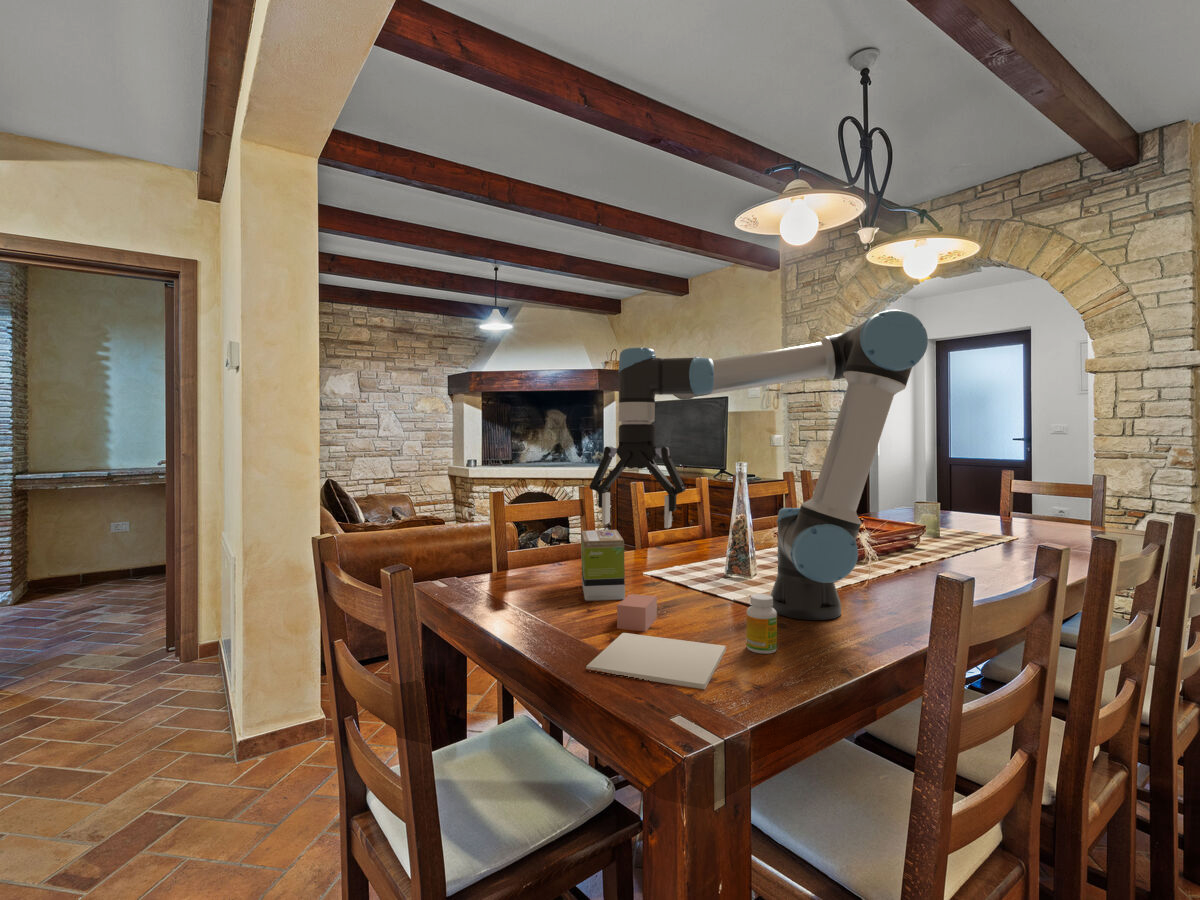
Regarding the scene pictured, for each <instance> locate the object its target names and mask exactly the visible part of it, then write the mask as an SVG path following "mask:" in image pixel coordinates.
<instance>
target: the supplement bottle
mask: <svg viewBox="0 0 1200 900" xmlns="http://www.w3.org/2000/svg"><path fill="white" fill-rule="evenodd" d="M770 595H771V594H770ZM770 595H769V594H764V593H754V594H751V595H750V604H751V606H748V608H747V609H746V648H747V649H748V651H751V652H752V653H756V654H763V655H764V654H765V655H766V654H767V655H768V654H769V655H770V654H773V653H776V651H777V649H778V614H777V612H776V610H775V609H774V608H772V606H773V597H772V596H770Z"/></svg>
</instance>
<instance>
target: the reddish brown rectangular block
mask: <svg viewBox="0 0 1200 900" xmlns="http://www.w3.org/2000/svg"><path fill="white" fill-rule="evenodd" d="M657 605H658V598H657V595H648V594H635V593H629V594H628V595H627V596H625V599H621V601H619V603H618V604H617V605H616V629H619V630H627V631H628V630H629V631H637V632H647V630H648V629H649V628H650V627H652V625H653V624H654V623H655V621H656V620H657V619H658V615H657V613H658V611H657V610H658V609H657Z"/></svg>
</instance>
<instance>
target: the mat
mask: <svg viewBox="0 0 1200 900" xmlns="http://www.w3.org/2000/svg"><path fill="white" fill-rule="evenodd" d="M726 651H727V646H726V645H723V644H722V645H721V644H713V643H708V642H707V643H706V642H698V641H692V640H691V641H689V640H684V639H683V640H682V639H675V638H667V637H666V638H665V637H661V636H659V637H658V636H651V635H645V634H635V633H629V632H622V633H621V634H619V636H618V637H616V638H615V639H614V640H613V641H611V643H610V644H609V645H608V646H607V647H605V648H604V649H603V650H602V651H601V652H600V653H599V654H597V656H596V657H595V658H593V660H591V661H590V662H589V663H588V664H587V665H586V669H591V670H597V671H602V672H607V673H612V674H616V675H624V676H628V677H627V678H629V677H634V678H633V679H635V678H639V679H638V680H642V679H644V680H643V681H648V680H649V681H650V682H655V683H660V684H662V683H663V684H669V685H674V686H680V687H687V688H694V689H700V690H706V688H707V687H708V685H709V682H710V681H711V679H712V677H713V675H714V673H715V671H716V670H717V667H718V666H719V664H720V662H721V660H722V658H723V657H724V654H725V653H726ZM616 675H615V676H616Z"/></svg>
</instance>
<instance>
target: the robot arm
mask: <svg viewBox="0 0 1200 900" xmlns="http://www.w3.org/2000/svg"><path fill="white" fill-rule="evenodd" d="M928 343H929V338H928V332H927V329H926V327H924V324H923V323H922V322H921V320H920V319H919V318H918V317H917V316H915V315H914V314H912V313H910V312H908V311H904V310H903V309H902V310H900V309H889V310H884V311H880V312H877V313H875V314H873V315H871V316H869V317H868V318H867V319H866V321H863V322H862V323H860V324H859V325H856V326H855V327H853V328H851V329H849V330H846V331H843V332H840V333H838V334H833V335H828V336H824V337H823V338H822V339H821V340H820V341H818V342H815V343H809V344H803V345H798V346H797V345H796V346H791V347H785V348H779V349H772V350H768V351H761V352H755V353H750V354H742V355H736V356H730V357H724V358H718V359H712V358H710V357H699V356H694V357H673V358H672V357H671V358H663V357H661V358H660V357H657V355H656V352H655V349H653V348H649V347H629V348H625V349H624V348H623V349H622V350H621V351H620V353H619V357H618V358H619V359H618V371H617V372H618V374H617V375H618V422H619V423H621V424H619V426H618V447H613V446H605V447H604V448H603V454H602V456H603V457H602V459H601V460H600V463H599V465H598V467H597V470H596V472H595V474H594V475H593V478H592V480H591V482H590V485H589V490H593V491H595V492H596V493H597V495H598V496H597V497H598V499H597V502H598V504H597V505H598V508H600V509H601V516H602V517H601V524H602V525H608V524H610V523H611V492H610V491H609V492H608V489H609V488H610V487H611V486H612V485H613V483H614V482H615V481H616V480H617V478H619V476H620V475H621V474H622V472H623V471H624V470H625V469H626V468H628V469H635V468H636V469H639V470H641V469H642V470H643V469H645V468H646V469H647V471H649V473H651V475H652V476H653V477H654V478H655V479H656V480H657V482H658V483H659V484H660V486H661V487H662V488H663V489H664V490H665V492H666V493H667V494H666V495H664V521H663V522H664V529H669V528H671V527H672V520H673V519H672V516H673V515H672V514H673V513H672V512H675V511H676V510H677V496H678V495H679V494H681V493H684V492H685V491H686V486H685V484H684V482H683V480H682V478H681V476H680V474H679V472H678V470H677V468H676V465H675V464H674V462H673V459H672V456H671V449H670V447H669V446H663V447H658V448H657V447H656V444H655V443H656V442H655V441H656V429H655V428H656V427H655V425H654V424H653V423H654V422H655V420H656V419H655V417H656V415H655V414H656V413H655V411H656V401H655V400H656V399H655V397H656V395H659V396H664V395H665V396H667V395H668V396H670V395H672V396H674V397H676V398H677V399H679V400H692V399H693V398H695V397H696V398H697V397H704V396H708V395H715V394H720V393H728V392H733V391H740V390H747V389H752V388H760V387H766V386H772V385H779V384H784V383H785V384H786V383H792V382H797V381H798V382H799V381H804V380H811V379H817V378H825V379H827V380H829V381H834V380H840V379H845V381H846V382H847V386H846V390H845V394H844V396H843V399H842V403H841V405H840V409H839V411H838V414H837V418H836V422H835V425H834V428H833V430H832V434H831V437H830V441H829V443H828V446H827V450H826V452H825V453H826V454H825V455H824V459H823V462H822V466H821V468H820V471H819V475H818V478H817V481H816V485H815V487H814V489H813V493H812V497H811V498H810V499H807V500H806V501H804V502H803V503H801V504H800V507H784V508H783V507H782V508H780V509H779V510H778V514H777V520H776V523H777V575H776V578H775V581H774V584H773V587H772V590H771V593H770V596H772V597H773V606H772V608H774V609H775V610H776V612H777V615H780V616H783V617H787V618H792V619H797V620H806V621H807V620H808V621H825V620H827V621H828V620H833V619H837V618H839V617H840V616H841V615H842V603H841V600H840V597H839V593H838V590H837V586H836V585H835V583H836V582H838V581H841V580H843V579H844V578H846V577H847V576H849V575H850V574H851V572H853V570H854V569H855V567H856V565H857V562H858V560H859V559H858V558H859V550H858V548H859V547H858V545H857V537H858V534H859V531H860V527H861V525H862V521H861V520H860V518H859V516H858V513H857V510H858V508H859V504H860V501H861V499H862V494H863V492H864V488H865V486H866V483H867V479H868V476H869V474H870V473H869V472H870V469H871V467H872V464H873V460H874V458H875V455H876V452H877V449H878V446H879V443H880V439H881V436H882V434H883V432H884V431H883V430H884V427H885V424H886V422H887V421H886V420H887V418H888V416H889V412H890V409H891V405H892V403H893V400H894V397H895V395H896V394H899V392H902V391H904V390H905V389H906V387H907V386H908V385H907V383H908V381H909V379H910V375H911V372H912V369H913V368H914V367H915V366H916V365H917V364H918V363H919V362H920V361H921V359H922V358H923V357H924V355H925V353H926V352H927V348H928V345H929V344H928ZM616 455H617V456H618V458H619V459H620V460H618V462H617V463H616V464H615V466H614V468H613V469H612V470H611V472H610V473H609V474H608V476H607V477H606V478H605V479H604V477H605V475H606V473H607V471H608V468H609V467H610V465H611V462H612V460H613V458H614V457H615V456H616ZM656 455H658V457H659V458H660V459H662V462H663V464H664V467H665V468H666V471H667V472H668V475H669V477H670V479H671V481H672V483H671V482H670V480H669V479H668V478H667V476H666V475H665V474H664V472H663V471H662V470H661V469H660V468H659V466H658V464H657V463H656V462H655V460H654V459H655V457H656ZM603 479H604V480H603Z"/></svg>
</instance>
